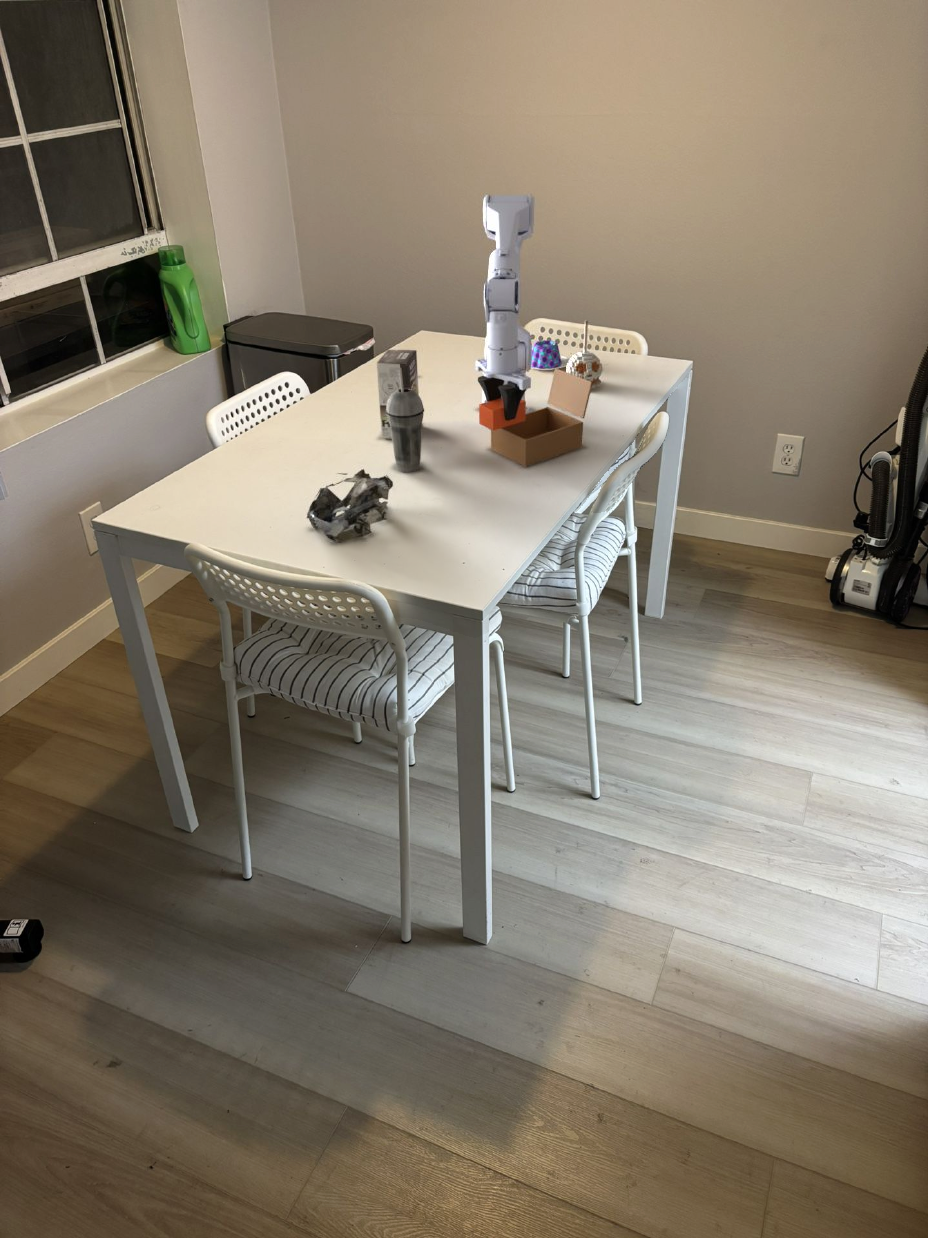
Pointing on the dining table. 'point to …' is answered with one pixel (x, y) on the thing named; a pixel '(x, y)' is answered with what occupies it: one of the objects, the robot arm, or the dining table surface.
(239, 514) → the dining table surface
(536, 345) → the pudding
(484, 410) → the block
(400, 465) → the beverage cup
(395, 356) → the coffee box
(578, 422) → the box
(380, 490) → the foil
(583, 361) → the decorative ornament
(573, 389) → the flap
